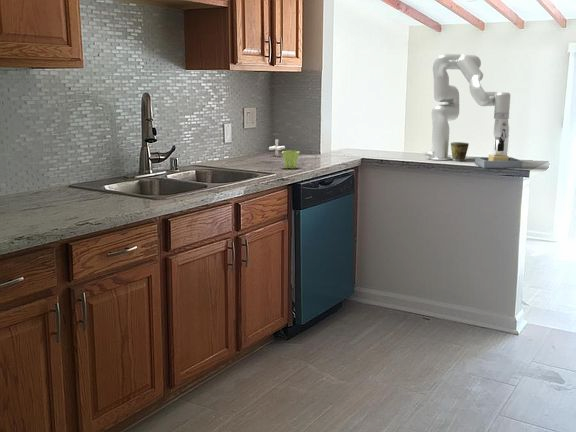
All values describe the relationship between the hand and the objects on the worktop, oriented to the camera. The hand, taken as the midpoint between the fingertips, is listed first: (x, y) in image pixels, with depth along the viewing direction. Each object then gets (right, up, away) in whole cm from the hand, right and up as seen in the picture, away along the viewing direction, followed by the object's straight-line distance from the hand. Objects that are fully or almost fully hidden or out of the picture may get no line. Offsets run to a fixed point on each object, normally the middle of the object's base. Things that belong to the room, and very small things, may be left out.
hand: (499, 150), depth 334 cm
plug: (0, -2, +1) cm, 2 cm away
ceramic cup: (-15, -4, +25) cm, 30 cm away
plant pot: (-112, -10, -2) cm, 112 cm away
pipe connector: (-120, +1, +47) cm, 129 cm away
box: (0, -9, +2) cm, 9 cm away
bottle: (+7, -5, +20) cm, 21 cm away
